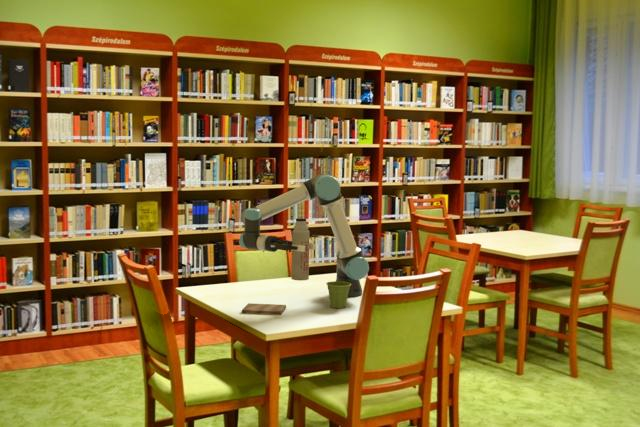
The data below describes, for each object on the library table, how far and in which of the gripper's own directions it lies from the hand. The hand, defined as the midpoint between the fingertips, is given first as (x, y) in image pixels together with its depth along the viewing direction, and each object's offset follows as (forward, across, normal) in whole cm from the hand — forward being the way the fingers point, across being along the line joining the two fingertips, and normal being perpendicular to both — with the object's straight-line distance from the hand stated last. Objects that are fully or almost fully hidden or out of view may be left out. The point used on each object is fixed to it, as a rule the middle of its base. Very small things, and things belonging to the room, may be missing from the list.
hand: (309, 247), depth 344 cm
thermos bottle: (-5, 0, -15) cm, 16 cm away
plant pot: (+7, -16, -30) cm, 34 cm away
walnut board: (-17, +10, -30) cm, 36 cm away
